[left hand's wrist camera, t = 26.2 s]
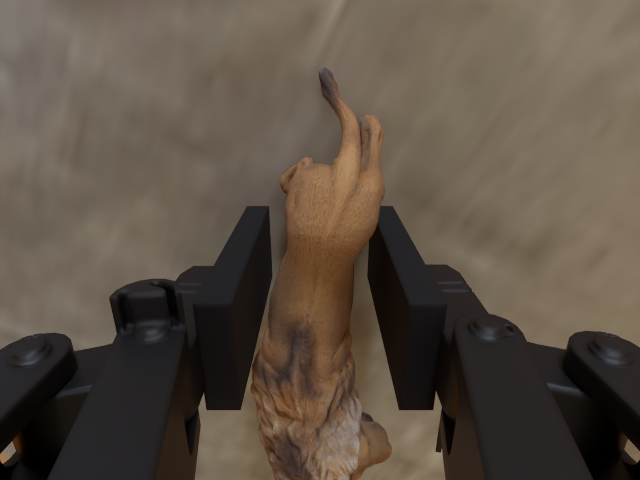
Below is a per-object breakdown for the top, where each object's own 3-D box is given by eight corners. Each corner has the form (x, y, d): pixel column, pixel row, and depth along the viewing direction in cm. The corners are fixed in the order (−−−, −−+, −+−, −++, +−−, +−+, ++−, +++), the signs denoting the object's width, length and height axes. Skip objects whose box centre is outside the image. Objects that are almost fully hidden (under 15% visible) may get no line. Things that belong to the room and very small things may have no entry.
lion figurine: (373, 363, 17) (400, 539, 11) (275, 363, 17) (241, 537, 11) (385, 67, 13) (444, 56, 6) (254, 69, 13) (178, 60, 6)
